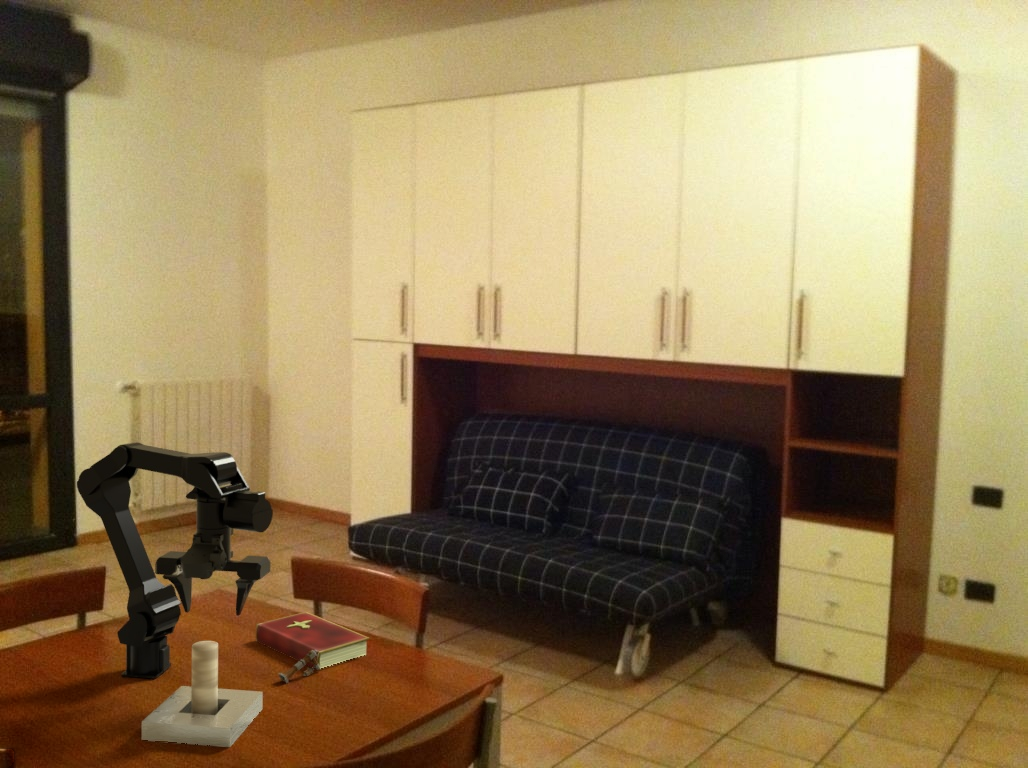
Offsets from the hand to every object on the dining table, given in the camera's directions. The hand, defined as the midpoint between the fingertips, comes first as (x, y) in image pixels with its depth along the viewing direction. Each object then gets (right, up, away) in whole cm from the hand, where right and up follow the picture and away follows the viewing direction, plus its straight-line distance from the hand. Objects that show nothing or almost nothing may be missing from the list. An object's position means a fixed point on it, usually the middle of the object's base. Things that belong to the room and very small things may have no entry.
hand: (212, 613), depth 167 cm
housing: (+3, -14, -14) cm, 20 cm away
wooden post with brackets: (+14, -13, +6) cm, 20 cm away
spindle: (+3, -14, -14) cm, 20 cm away
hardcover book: (+13, -13, +21) cm, 28 cm away
